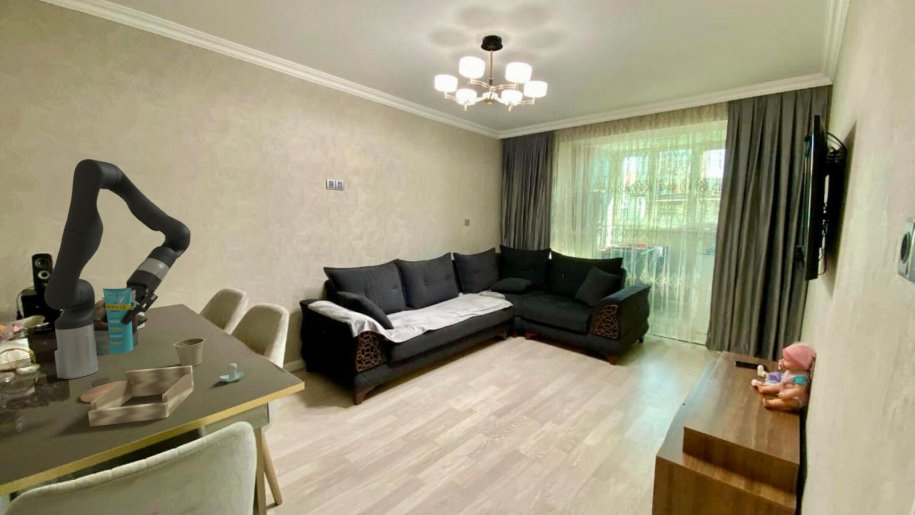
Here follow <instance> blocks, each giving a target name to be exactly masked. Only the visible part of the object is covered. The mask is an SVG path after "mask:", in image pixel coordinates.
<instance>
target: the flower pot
mask: <svg viewBox="0 0 915 515" xmlns="http://www.w3.org/2000/svg"><path fill="white" fill-rule="evenodd" d="M205 341H206V339H205V338H202V337H201V338H200V337H193V338H187V339H183V340H179V341H177V342H175V343H173V347H175V350H176V352H177V355H178V359H179V363H180V366H191V365H192V366H193V367H195V366H199V365H200V364H201V363H202V360H203V346H204V344H205Z"/></svg>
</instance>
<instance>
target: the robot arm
mask: <svg viewBox="0 0 915 515" xmlns="http://www.w3.org/2000/svg"><path fill="white" fill-rule="evenodd" d="M73 171H74V172H73V177H72V185H71V186H72V189H71V198H70V203H69V208H68V212H67V213H68V214H67V217H66V221H65V224H64V228H63V232H62V236H61V241H60V246H59V250H58V253H57V256H56V260H55V265H54V267H53V269H52V272H51V274H50V277H49V280H48V282H47V285H46V287H45V289H44V295H43V296H44V301H45V303H46V305H47V306H48V307H50V308H51V309H53V310H56V311H57V310H60V311H61V310H63V312H62V313H61V314H60V316H58V317H57V318H56V319H55V321H54V329H55V338H56V344H57V345H56V346H57V349H56V350H55V351H54V360H55V361H54V362H55V367H56V369H55V370H56V377H57V379H63V380H64V379H65V380H69V379H76V378H77V379H78V378H82V377H86V376H89V375H92V374H94V373H97V372H98V371H99V363H98V356H97V351H96V342H95V333H94V324H93V318H94V316H95V303H96V295H95V289H94V288H93V287H94V286H93V285H92V284H91V283H90V282H89V281H88V280H86V279H82V278H80V277H81V274H82V272H83V270H84V268H85V267H86V265H87V264H88V263H89V261H90V260H91V259H92V258H93V256H94V255H95V254H96V252H97V251H98V250H99V247H100V245H101V242H102V237H103V233H104V224H103V220H102V218H101V215H100V212H99V209H98V198H99V193H100V191H101V190H107V191H110V192H112V193H113V194H115V195H117V196H118V197H119V198H121V199H122V201H124V202H125V204H126V205H127V207H128V209H129V211H130V212H131V214H132V215H133V216H134V218H136V219H137V220H138V221H139V222H141V223H142V224H143V225H144V226H145V227H147V229H150V230H151V231H153V232H160V233H162V234H163V235H164V241H163V243H162V244H161V245H158V246H156V247H154V248H153V249H152V250H151V251H150V253H149V254H148V255H147V257H146V258H144V260H143V261H142V262H141V263H140V264H139V265H138V266H137V268H135V270H134V271H133V273H132V274H131V275H130V276H129V277H128V279H127V280H126V286H125V288H131V307H130V310H128V311H127V312H126V314H125V315H124V317H123V318H122V319H121V321H120V322H121V323H123V324H124V325H128V324H129V323H130V322H131V321H132V320H133V318H134V317H135V316H136V314H139V313H140V312H143V313H144V314H145V313H146V312H147V311H148V310H149V309H150V308H151V306H152V305H153V304H154V303H155V302H156V301H157V299H158V298H159V296H158V295H157V294H156V293H155V292H156V290H157V289H158V287H159V286H160V285H161V283H162V282H163V281H164V279H165V278H166V276H167V275H168V272H169V271H170V269H171V268H172V267H173V265H174V264H175V262H176V261H177V260H178V259H179V258H180V257H181V256H182V255H183V254H184V253H185V252H186V251H187V249H188V248H189V247H190V244H191V236H192V235H191V234H192V233H191V230H190V229H189V227H188V226H187V225H186V224H184V223H183V222H182V221H180V220H179V219H177V218H175V217H172V216H170V215H168V214H167V213H166V212H165V211H163V209H161V208H160V207H159V206H158V205H156V204H155V203H154V202H152V201H151V200H150V199H149V198H148V197H147V196H146V195H145V194H144V193H143V192H142V191H141V190H140V189H139V188H138V187H137V186H136V185H135V184H134V183H133V182H132V180H131V179H130V178H129V177H128V176H127V175H126V173H124V171H123V170H122V169H121V168H120V167H118V166H117V165H116V164H114V163H111V162H106V161H102V160H98V159H91V158H90V159H89V158H84V159H82V160H80V161H79V162H77V164H76V166H75V168H74V170H73ZM103 307H105V308H106V304H105V302H104V304H103ZM100 321H101V322H103V323H108V320H107V312H106V311H105V313H104V314H103V315H102V316H101V318H100Z"/></svg>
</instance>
